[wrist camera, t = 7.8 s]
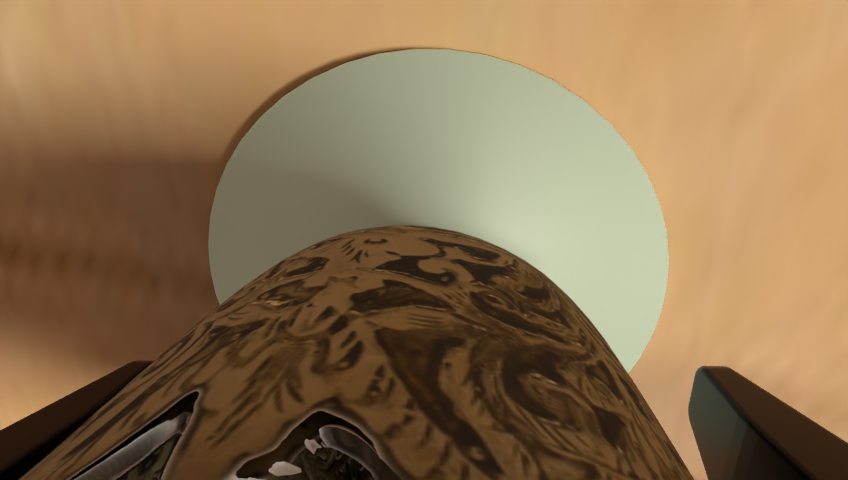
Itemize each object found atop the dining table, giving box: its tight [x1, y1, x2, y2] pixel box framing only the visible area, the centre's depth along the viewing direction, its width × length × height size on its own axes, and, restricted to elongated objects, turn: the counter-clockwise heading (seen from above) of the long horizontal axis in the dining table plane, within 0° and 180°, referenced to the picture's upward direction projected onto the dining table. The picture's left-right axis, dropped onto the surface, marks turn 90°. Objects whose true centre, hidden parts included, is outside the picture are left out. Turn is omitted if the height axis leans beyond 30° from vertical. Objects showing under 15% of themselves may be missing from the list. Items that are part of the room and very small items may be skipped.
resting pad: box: [208, 49, 669, 373], centre depth 11 cm, size 10×10×1 cm
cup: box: [19, 225, 694, 480], centre depth 7 cm, size 8×7×8 cm
